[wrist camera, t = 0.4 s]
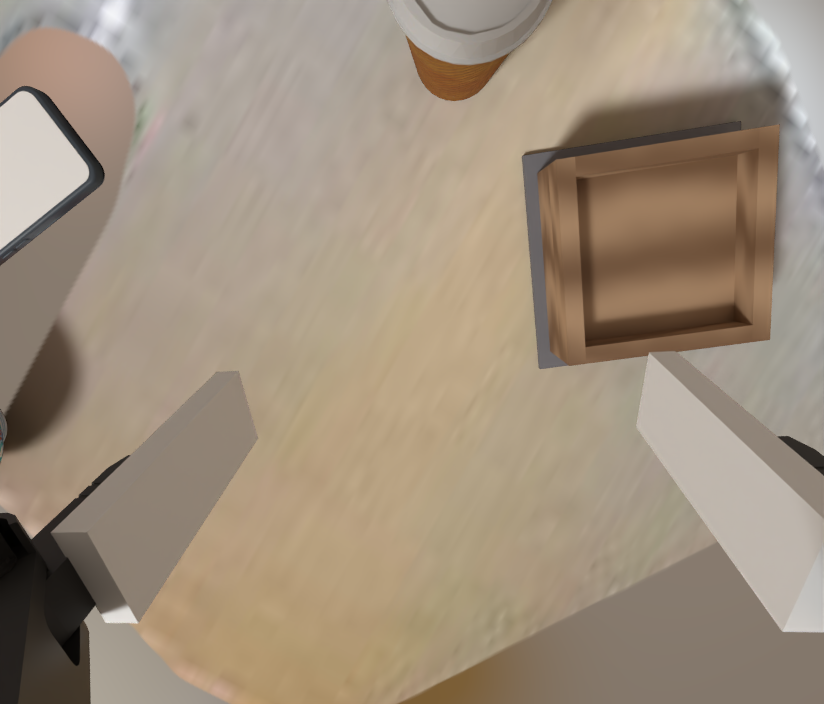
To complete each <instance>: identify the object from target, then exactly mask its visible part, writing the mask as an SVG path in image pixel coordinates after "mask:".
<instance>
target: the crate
mask: <svg viewBox="0 0 824 704" xmlns="http://www.w3.org/2000/svg"><path fill="white" fill-rule="evenodd" d="M779 127H780V124H779V125H773V126H766V127H760V128H754V129H747V130H741V131H735V132H728V133H722V134H716V135H709V136H703V137H697V138H690V139H684V140H678V141H671V142H665V143H658V144H652V145H646V146H639V147H633V148H627V149H620V150H614V151H608V152H601V153H595V154H589V155H582V156H576V157H570V158H563V159H557V160H555V161H554V162H552V163H551V164H549V165H548V166H547V167H545V168H544V169H543V170H541V171H540V172H538V173H537V178H538V192H539V206H540V219H541V233H542V247H543V260H544V274H545V288H546V301H547V315H548V329H549V342H550V352H552V353H553V354H554V355H556V356H557V357H558V358H560V359H561V360H562V361H564V362H565V363H566V364H568V365H569V366H572V365H579V364H587V363H595V362H602V361H610V360H618V359H625V358H633V357H641V356H648V355H649V352H666V351H676V352H679V351H687V350H695V349H702V348H710V347H718V346H725V345H733V344H741V343H748V342H756V341H764V340H770V328H771V306H772V284H773V261H774V239H775V217H776V194H777V172H778V150H779Z"/></svg>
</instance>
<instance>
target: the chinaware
mask: <svg viewBox="0 0 824 704" xmlns="http://www.w3.org/2000/svg"><path fill="white" fill-rule="evenodd" d="M6 435H7V423H6V419H5V416H4V414H3V412H2V411H1V409H0V463H1V459H2V455H3V447H4V441H5V438H6Z"/></svg>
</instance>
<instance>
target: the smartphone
mask: <svg viewBox="0 0 824 704" xmlns="http://www.w3.org/2000/svg"><path fill="white" fill-rule="evenodd" d="M104 178H105V173H104V169H103V167H102V165H101V164H100V162H99V161H98V160H97V158H96V157H95V156H94V154H93V153H92V152H91V151H90V149H89V148H88V147H87V145H86V144H85V143H84V141H83V140H82V139H81V138H80V136H79V135H78V134H77V132H76V131H75V130H74V128H73V127H72V126H71V124H70V123H69V122H68V120H67V119H66V118H65V117H64V115H63V114H62V113H61V111H60V110H59V109H58V107H57V106H56V105H55V103H54V102H53V101H52V99H51V98H50V97H49V96H48V95H47V94H45V93H43V92H42V91H39V90H37V89H35V88H32V87H29V86H22V87H20V88H18V89H17V90H15V91H14V92H13V93H12V94H11V95H10V96H8V97H7V98H6V99H5V100H4V101H3V102H1V103H0V265H1V264H3V263H4V262H5V261H7V260H8V259H9V258H10V257H12V256H13V255H14V254H15V253H17V252H18V251H19V250H20V249H22V248H23V247H24V246H26V245H27V244H28V243H29V242H31V241H32V240H33V239H34V238H35V237H37V236H38V235H39V234H41V233H42V232H43V231H44V230H46V229H47V228H48V227H50V226H51V225H52V224H53V223H55V222H56V221H57V220H58V219H60V218H61V217H62V216H63V215H65V214H66V213H67V212H68V211H70V210H71V209H72V208H73V207H75V206H76V205H77V204H79V203H80V202H81V201H82V200H84V199H85V198H86V197H87V196H88V195H90V194H91V193H92V192H94V191H95V190H96V189H97V188H99V187H100V186H101V185H102V183H103V182H104Z"/></svg>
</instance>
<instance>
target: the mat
mask: <svg viewBox="0 0 824 704" xmlns="http://www.w3.org/2000/svg"><path fill="white" fill-rule="evenodd" d="M735 131H741V121H738V122H732V123H726V124H719V125H713V126H707V127H700V128H694V129H688V130H682V131H675V132H669V133H663V134H656V135H650V136H644V137H638V138H631V139H625V140H619V141H612V142H606V143H600V144H594V145H587V146H581V147H575V148H568V149H562V150H556V151H549V152H543V153H537V154H531V155H524V156H522V162H523V175H524V187H525V200H526V212H527V225H528V237H529V250H530V262H531V275H532V287H533V300H534V312H535V325H536V337H537V350H538V362H539V368H540V369H544V368H552V367H560V366H567V365H568V364H566V363H565V362H564V361H562V360H561V359H560V358H558V357H557V356H556V355H554V354H553V353H552V352H550V342H549V329H548V315H547V301H546V288H545V274H544V260H543V247H542V233H541V219H540V206H539V192H538V178H537V173H538V172H540V171H541V170H543V169H544V168H545V167H547V166H548V165H549V164H551V163H552V162H554V161H555V160H557V159H563V158H570V157H576V156H582V155H589V154H595V153H601V152H608V151H614V150H620V149H627V148H633V147H639V146H646V145H652V144H658V143H665V142H671V141H678V140H684V139H690V138H697V137H703V136H709V135H716V134H722V133H728V132H735Z"/></svg>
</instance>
